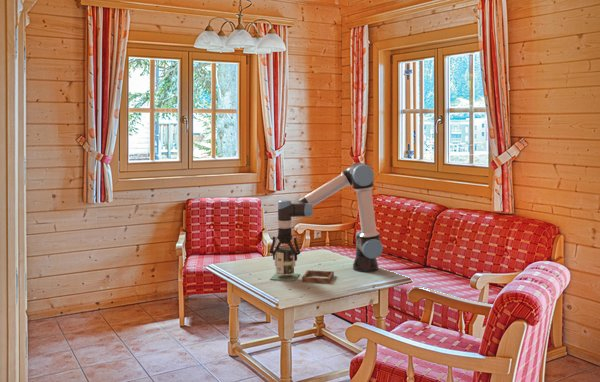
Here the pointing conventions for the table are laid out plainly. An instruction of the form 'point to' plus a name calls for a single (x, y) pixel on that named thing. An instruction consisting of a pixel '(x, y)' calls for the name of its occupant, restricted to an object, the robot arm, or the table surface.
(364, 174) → the robot arm
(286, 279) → the mat
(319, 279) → the tray
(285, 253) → the coffee can
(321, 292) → the table surface
